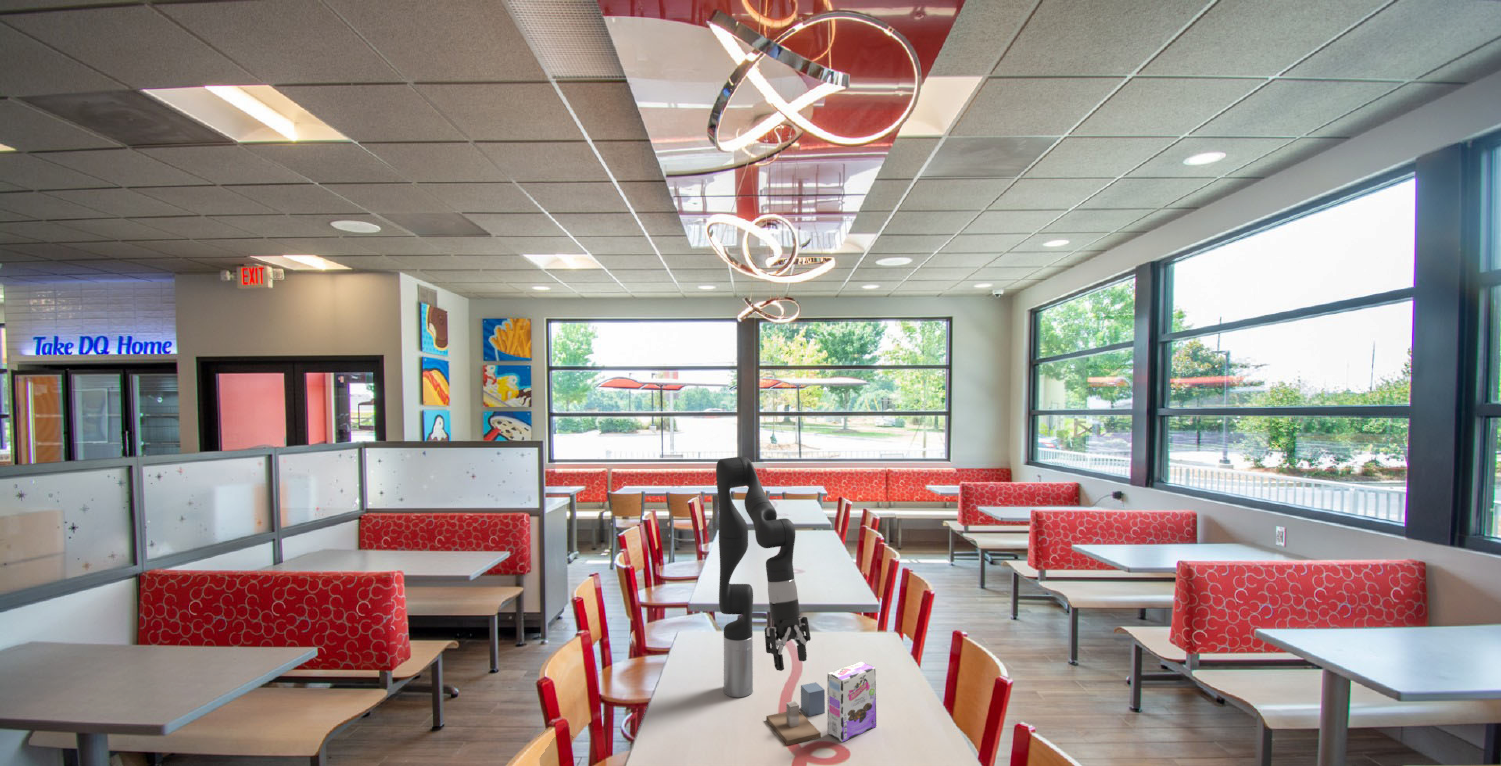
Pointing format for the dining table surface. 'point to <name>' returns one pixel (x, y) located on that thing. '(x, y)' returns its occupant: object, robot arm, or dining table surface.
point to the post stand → (793, 725)
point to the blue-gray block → (812, 699)
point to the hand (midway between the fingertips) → (791, 665)
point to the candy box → (851, 701)
